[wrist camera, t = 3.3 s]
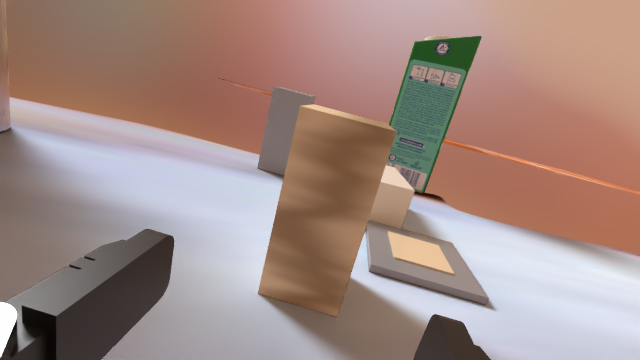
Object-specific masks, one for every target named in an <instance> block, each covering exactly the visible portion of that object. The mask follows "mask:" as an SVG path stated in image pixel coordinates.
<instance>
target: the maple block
mask: <svg viewBox="0 0 640 360" xmlns="http://www.w3.org/2000/svg"><path fill="white" fill-rule="evenodd" d="M396 132H397V131H396V130H394V129H393V128H392V127H391V126H389V125H388V124H386V123H383V122H379V121H375V120H371V119H367V118H364V117H360V116H356V115H352V114H348V113H345V112H341V111H337V110H333V109H329V108H326V107H322V106H318V105H314V104H312V105H303V106H300V108H299V113H298V117H297V121H296V126H295V130H294V135H293V139H292V144H291V148H290V153H289V157H288V162H287V166H286V170H285V175H284V179H283V184H282V188H281V193H280V197H279V202H278V206H277V211H276V215H275V219H274V224H273V228H272V233H271V237H270V242H269V246H268V251H267V255H266V260H265V264H264V269H263V273H262V277H261V282H260V286H259V291H258V294H262V295H265V296H269V297H272V298H275V299H279V300H282V301H285V302H289V303H292V304H295V305H299V306H302V307H306V308H309V309H312V310H316V311H319V312H322V313H326V314H329V315H332V316H336V317H337V316H338V313H339V310H340V306H341V303H342V300H343V297H344V294H345V291H346V288H347V285H348V281H349V278H350V275H351V272H352V269H353V266H354V263H355V260H356V257H357V253H358V250H359V247H360V244H361V241H362V238H363V235H364V232H365V229H366V225H367V222H368V219H369V216H370V213H371V210H372V207H373V204H374V200H375V197H376V194H377V191H378V188H379V185H380V182H381V179H382V176H383V172H384V169H385V166H386V163H387V160H388V157H389V154H390V151H391V147H392V144H393V141H394V138H395V135H396Z"/></svg>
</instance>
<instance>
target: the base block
mask: <svg viewBox="0 0 640 360" xmlns="http://www.w3.org/2000/svg"><path fill="white" fill-rule="evenodd" d="M414 191H415V190H414V189H413V188H412V187H411V186H410V184H409V183H408V182H407V181H406V180H405V179H404V177H403V176H402V175H401V174H400V173H399V172H398V170H397V169H396V168H394V167H390V166H387V165H386V166H385V169H384V172H383V176H382V179H381V182H380V185H379V188H378V191H377V194H376V197H375V200H374V204H373V207H372V210H371V213H370V216H369V219H368V220H372V221H376V222H379V223H383V224H386V225H390V226H393V227H397V228H402V225H403V222H404V220H405V217H406V214H407V211H408V208H409V205H410V203H411V200H412V197H413V194H414Z"/></svg>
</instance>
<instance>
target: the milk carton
mask: <svg viewBox="0 0 640 360" xmlns="http://www.w3.org/2000/svg"><path fill="white" fill-rule="evenodd" d="M480 40H481V36H476V37H475V36H474V37H461V38H449V37H448V36H442V35H440V36H431V37H427V38H425V39H424V41H415V43H414V46H413V49H412V52H411V55H410V59H409V62H408V65H407V68H406V71H405V75H404V78H403V81H402V84H401V88H400V91H399V94H398V97H397V100H396V104H395V107H394V110H393V113H392V117H391V120H390V123H389V126H391V127H392V128H393V129H394V130H396V131H397V132H396V135H395V138H394V141H393V144H392V147H391V151H390V154H389V157H388V160H387V163H386V165H387V166H390V167H394V168H396V169H397V170H398V172H399V173H400V174H401V175H402V176H403V177H404V179H405V180H406V181H407V182H408V183H409V184H410V186H411V187H412V188H413V189H414V190H415V191H416V192H419V193H422V194H424V192H425V189H426V187H427V184H428V181H429V179H430V176H431V173H432V170H433V167H434V165H435V162H436V159H437V157H438V154H439V151H440V149H441V146H442V143H443V141H444V138H445V135H446V133H447V130H448V127H449V124H450V122H451V119H452V116H453V114H454V111H455V108H456V105H457V103H458V100H459V97H460V94H461V92H462V89H463V86H464V83H465V81H466V78H467V75H468V73H469V70H470V67H471V65H472V62H473V59H474V56H475V54H476V51H477V48H478V46H479V43H480Z"/></svg>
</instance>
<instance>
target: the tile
mask: <svg viewBox="0 0 640 360" xmlns="http://www.w3.org/2000/svg"><path fill="white" fill-rule="evenodd" d="M366 239H367V253H368V267H369V271H371V272H374V273H378V274H381V275H385V276H388V277H391V278H395V279H398V280H402V281H405V282H409V283H412V284H416V285H419V286H423V287H426V288H430V289H433V290H437V291H440V292H444V293H447V294H450V295H454V296H457V297H461V298H464V299H468V300H471V301H475V302H478V303H482V304H485V305H486V303H487V301H488V299H489V298H488V296H487V295H486V293H485V292H484V290H483V289H482V287H481V286H480V284H479V283H478V281H477V280H476V278H475V277H474V275H473V274H472V272H471V271H470V269H469V268H468V266H467V265H466V263H465V262H464V260H463V259H462V257H461V256H460V254H459V253H458V251H457V250H456V248H455V247H454V245H453V244H452V243H451V242H447V241H443V240H440V239H436V238H433V237H429V236H426V235H422V234H418V233H415V232H411V231H408V230H404V229H401V228H397V227H393V226H390V225H386V224H383V223H379V222H376V221H372V220H368V222H367V225H366Z"/></svg>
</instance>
